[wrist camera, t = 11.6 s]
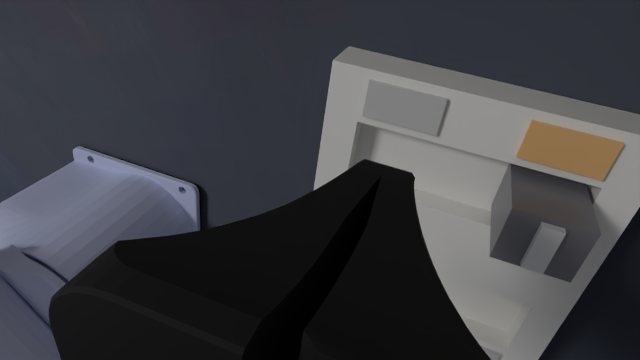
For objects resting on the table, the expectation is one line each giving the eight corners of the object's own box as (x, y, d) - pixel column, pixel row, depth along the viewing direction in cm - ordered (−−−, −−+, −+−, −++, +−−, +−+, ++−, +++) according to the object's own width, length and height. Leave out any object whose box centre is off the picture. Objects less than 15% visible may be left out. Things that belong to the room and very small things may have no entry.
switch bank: (311, 276, 28) (295, 305, 26) (349, 46, 20) (331, 61, 18) (518, 351, 26) (519, 390, 24) (660, 119, 17) (682, 147, 15)
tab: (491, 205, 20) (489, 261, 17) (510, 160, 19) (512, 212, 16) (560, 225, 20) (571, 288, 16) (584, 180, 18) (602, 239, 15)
